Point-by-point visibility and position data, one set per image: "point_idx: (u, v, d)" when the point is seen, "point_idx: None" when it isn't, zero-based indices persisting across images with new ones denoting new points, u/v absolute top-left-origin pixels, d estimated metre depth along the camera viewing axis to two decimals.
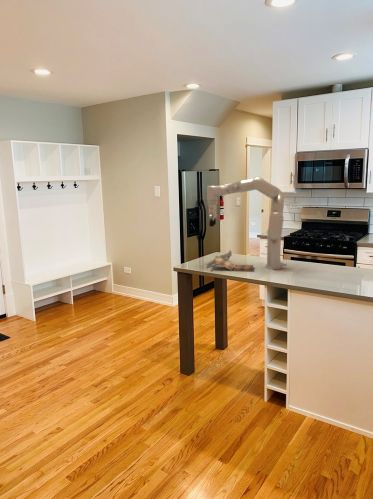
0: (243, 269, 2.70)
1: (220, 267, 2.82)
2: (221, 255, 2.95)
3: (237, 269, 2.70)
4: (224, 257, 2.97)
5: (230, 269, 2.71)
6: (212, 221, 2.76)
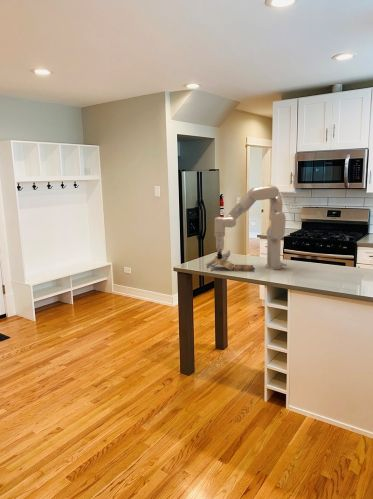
0: (243, 269, 2.70)
1: (220, 267, 2.82)
2: None
3: (237, 269, 2.70)
4: (223, 257, 2.98)
5: (230, 269, 2.71)
6: (220, 254, 2.75)
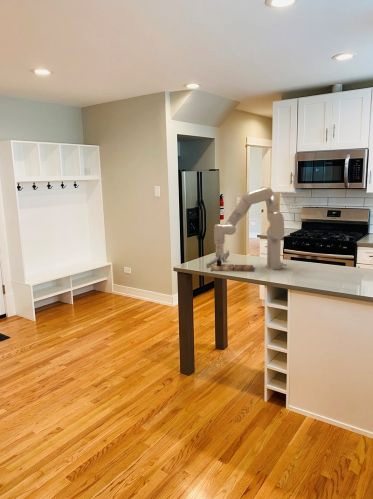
0: (243, 269, 2.70)
1: None
2: None
3: (237, 269, 2.70)
4: (222, 257, 2.98)
5: (230, 270, 2.72)
6: (219, 261, 2.76)
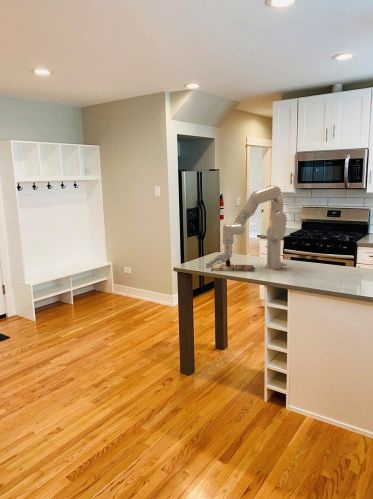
0: (243, 269, 2.70)
1: None
2: (219, 255, 2.96)
3: (237, 269, 2.70)
4: (222, 257, 2.98)
5: (230, 270, 2.72)
6: (228, 261, 2.75)
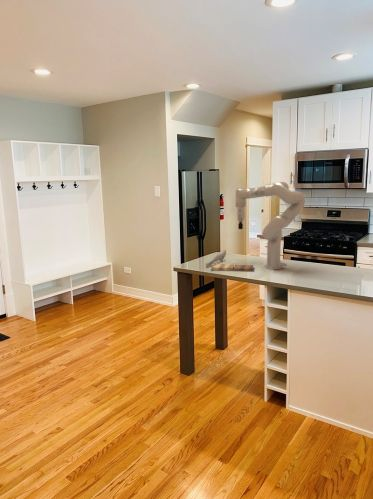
0: (243, 269, 2.70)
1: None
2: (218, 255, 2.96)
3: (237, 269, 2.70)
4: (220, 257, 2.99)
5: (230, 270, 2.72)
6: (241, 224, 2.89)
